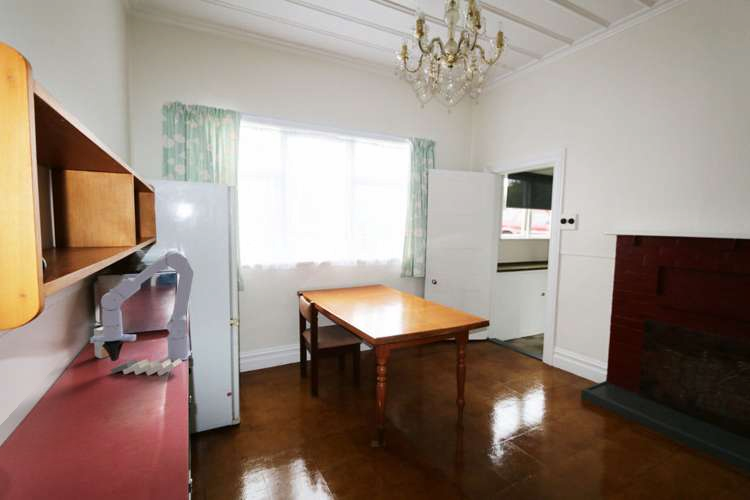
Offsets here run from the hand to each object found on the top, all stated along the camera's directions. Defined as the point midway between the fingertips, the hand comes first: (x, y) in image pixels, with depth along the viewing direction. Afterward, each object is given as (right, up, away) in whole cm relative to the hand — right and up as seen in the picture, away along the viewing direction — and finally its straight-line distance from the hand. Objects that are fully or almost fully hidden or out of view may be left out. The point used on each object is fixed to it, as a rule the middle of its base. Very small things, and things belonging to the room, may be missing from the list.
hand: (114, 359), depth 127 cm
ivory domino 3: (+14, -4, -1) cm, 15 cm away
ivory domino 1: (+5, -4, 0) cm, 6 cm away
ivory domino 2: (+10, -4, -1) cm, 10 cm away
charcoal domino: (0, -4, 0) cm, 4 cm away
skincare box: (-15, -3, +15) cm, 22 cm away
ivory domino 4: (+19, -4, -1) cm, 19 cm away
